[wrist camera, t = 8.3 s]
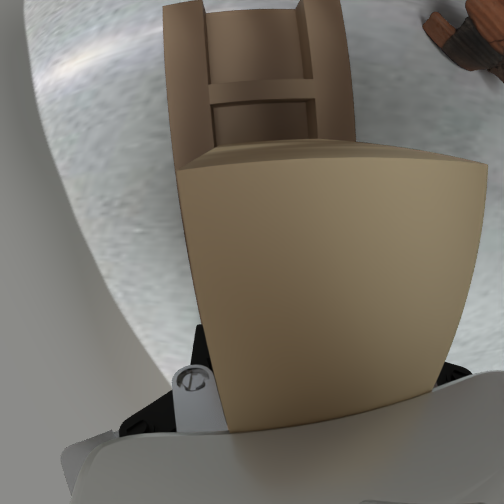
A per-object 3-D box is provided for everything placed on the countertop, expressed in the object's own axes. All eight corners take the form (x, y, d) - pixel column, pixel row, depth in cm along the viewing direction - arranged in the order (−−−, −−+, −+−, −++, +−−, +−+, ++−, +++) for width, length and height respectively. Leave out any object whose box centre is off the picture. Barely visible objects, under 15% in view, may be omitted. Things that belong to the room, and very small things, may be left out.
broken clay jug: (385, 3, 13) (442, -64, 5) (422, -2, 15) (466, -47, 7) (496, 129, 14) (574, 89, 6) (505, 93, 16) (559, 61, 8)
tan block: (318, 138, 11) (487, 165, 3) (314, 385, 17) (350, 514, 8) (215, 145, 11) (161, 172, 3) (247, 394, 16) (257, 530, 8)
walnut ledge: (321, 19, 13) (339, -1, 10) (323, 391, 25) (332, 419, 22) (175, 27, 13) (162, 6, 10) (228, 402, 25) (228, 432, 22)
